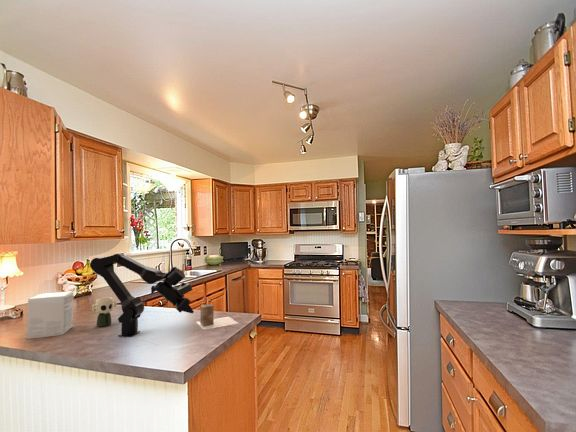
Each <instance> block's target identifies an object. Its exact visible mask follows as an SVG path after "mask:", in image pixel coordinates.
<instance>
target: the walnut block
mask: <svg viewBox="0 0 576 432" xmlns="http://www.w3.org/2000/svg"><path fill="white" fill-rule="evenodd" d="M214 309H215V308H214V305H213V304H212V303H208V304H201V305H200V316H199V317H200V320H199V321H200V324H201V325H202V326H203V327H204V326H210V325H214V319H215V317H214V315H215V314H214V313H215V312H214Z"/></svg>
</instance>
